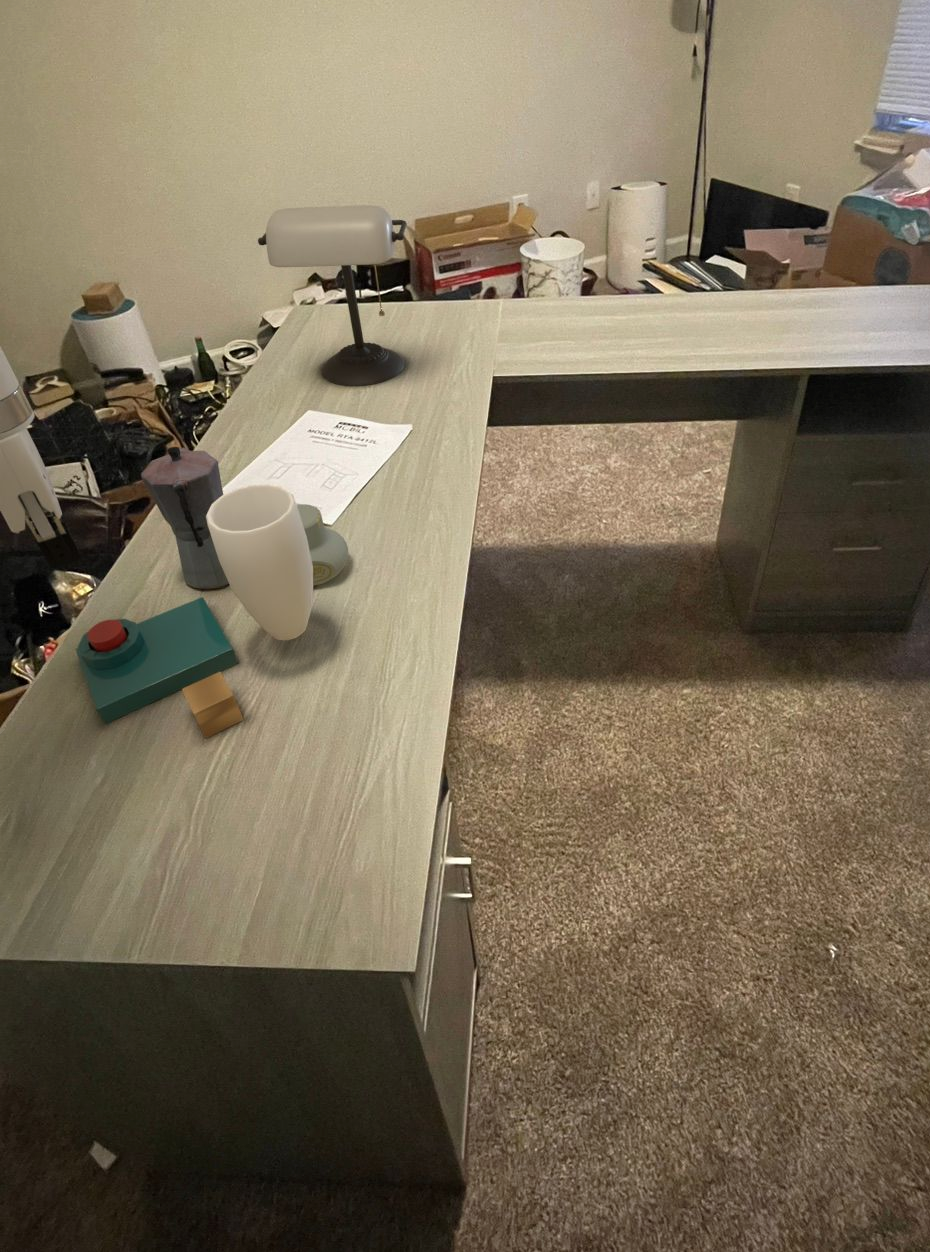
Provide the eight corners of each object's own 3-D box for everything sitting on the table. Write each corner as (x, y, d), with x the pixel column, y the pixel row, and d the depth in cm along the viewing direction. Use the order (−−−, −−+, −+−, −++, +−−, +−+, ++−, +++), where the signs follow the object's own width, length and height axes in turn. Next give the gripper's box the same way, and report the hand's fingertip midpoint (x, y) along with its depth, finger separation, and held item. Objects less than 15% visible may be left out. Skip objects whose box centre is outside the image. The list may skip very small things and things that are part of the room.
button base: (105, 724, 86) (89, 699, 83) (83, 661, 94) (68, 636, 91) (238, 663, 92) (228, 638, 90) (207, 609, 100) (197, 584, 97)
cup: (250, 680, 90) (197, 543, 76) (254, 623, 98) (205, 488, 84) (336, 665, 92) (298, 527, 78) (332, 609, 100) (298, 475, 86)
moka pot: (241, 534, 113) (203, 418, 100) (262, 593, 103) (221, 472, 90) (177, 552, 110) (128, 435, 97) (191, 615, 99) (138, 493, 87)
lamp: (286, 402, 146) (241, 221, 125) (310, 351, 165) (274, 186, 143) (418, 398, 146) (396, 216, 124) (427, 347, 165) (409, 181, 143)
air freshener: (350, 548, 110) (338, 493, 103) (352, 584, 103) (340, 527, 97) (275, 559, 108) (258, 504, 102) (273, 596, 102) (255, 539, 96)
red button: (96, 657, 88) (90, 647, 87) (89, 638, 91) (83, 628, 90) (130, 643, 90) (125, 633, 89) (123, 625, 93) (117, 615, 91)
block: (205, 739, 84) (193, 714, 81) (193, 713, 86) (181, 688, 84) (243, 720, 86) (233, 695, 83) (231, 696, 88) (220, 671, 85)
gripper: (-67, 394, 73) (18, 539, 85) (-53, 457, 64) (40, 611, 76) (16, 373, 77) (87, 516, 88) (41, 430, 67) (116, 582, 79)
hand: (65, 559), depth 82 cm, fingers closed
